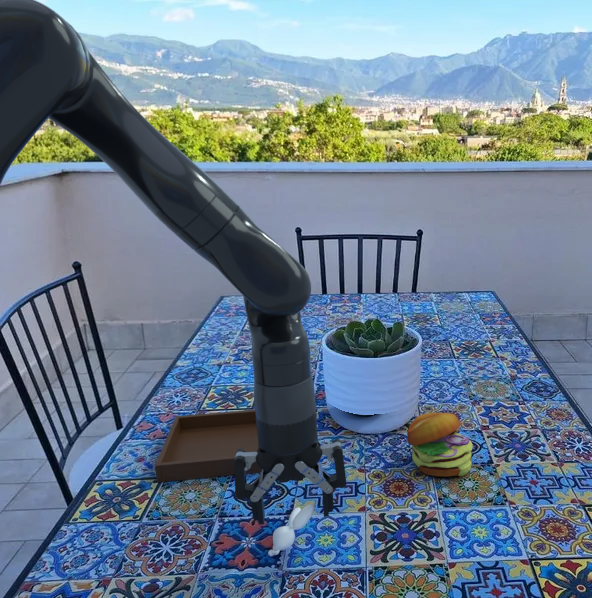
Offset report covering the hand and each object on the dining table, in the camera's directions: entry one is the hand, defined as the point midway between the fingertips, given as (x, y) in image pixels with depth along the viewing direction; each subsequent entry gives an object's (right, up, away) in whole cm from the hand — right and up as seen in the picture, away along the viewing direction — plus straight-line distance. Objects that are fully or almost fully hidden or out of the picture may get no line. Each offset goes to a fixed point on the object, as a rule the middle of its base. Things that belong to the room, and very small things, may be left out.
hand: (294, 516), depth 76 cm
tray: (-16, +3, +24) cm, 29 cm away
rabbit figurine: (0, -4, +1) cm, 4 cm away
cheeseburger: (+21, +1, +19) cm, 28 cm away
